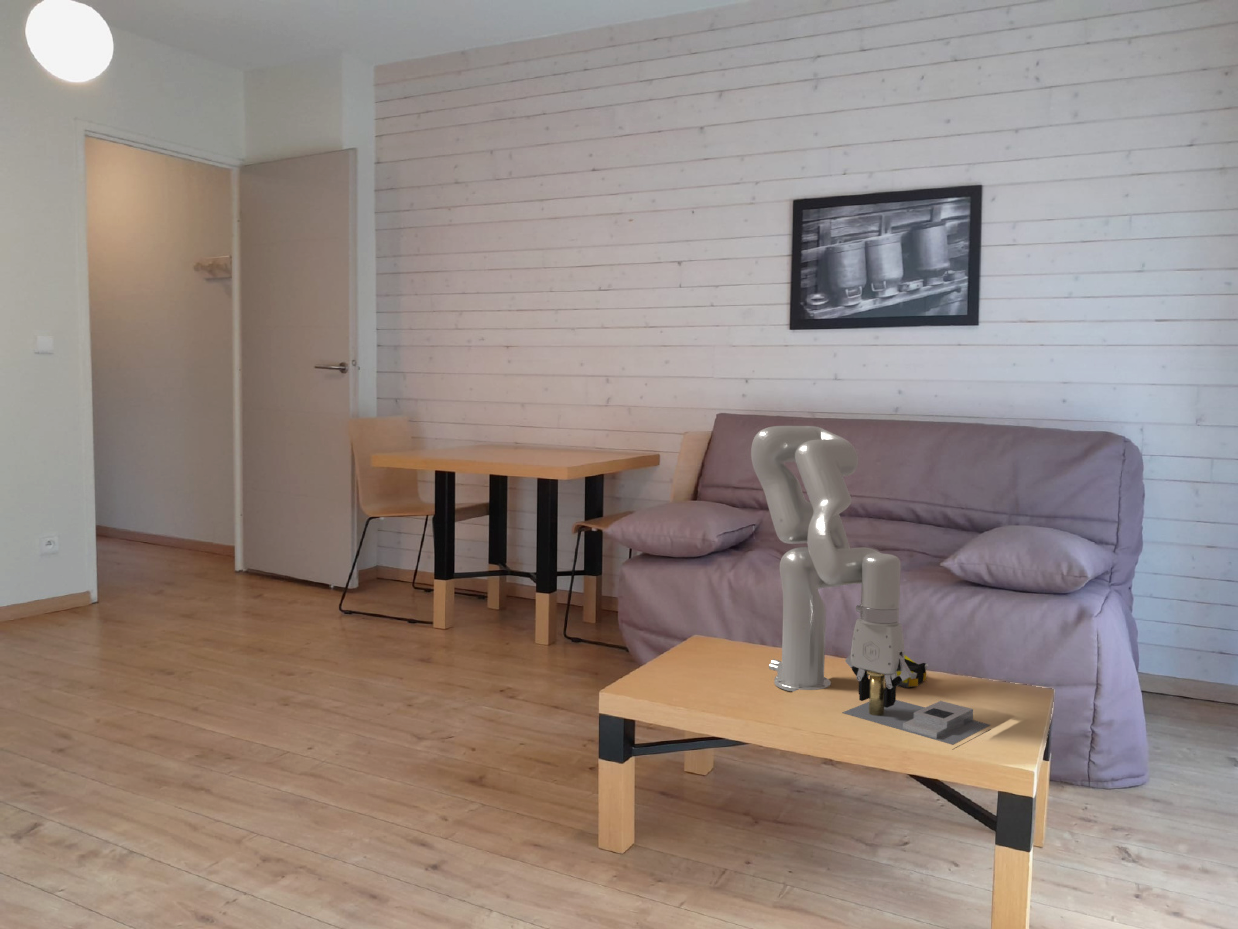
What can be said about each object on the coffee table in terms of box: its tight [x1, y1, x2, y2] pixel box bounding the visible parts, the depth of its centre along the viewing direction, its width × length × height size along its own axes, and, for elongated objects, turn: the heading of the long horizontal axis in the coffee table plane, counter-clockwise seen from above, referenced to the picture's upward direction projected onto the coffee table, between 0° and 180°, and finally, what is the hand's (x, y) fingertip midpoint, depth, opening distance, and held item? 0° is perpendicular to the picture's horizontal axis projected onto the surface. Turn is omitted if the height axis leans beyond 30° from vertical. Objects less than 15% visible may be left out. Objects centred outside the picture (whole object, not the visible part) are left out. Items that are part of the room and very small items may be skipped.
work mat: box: [841, 699, 991, 750], centre depth 191 cm, size 24×16×1 cm, turn 44°
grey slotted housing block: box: [903, 700, 974, 739], centre depth 187 cm, size 7×15×2 cm, turn 134°
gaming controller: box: [885, 654, 929, 689], centre depth 220 cm, size 15×6×10 cm
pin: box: [867, 671, 886, 716], centre depth 194 cm, size 4×4×9 cm
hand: (876, 701), depth 194 cm, fingers open, 4 cm apart
